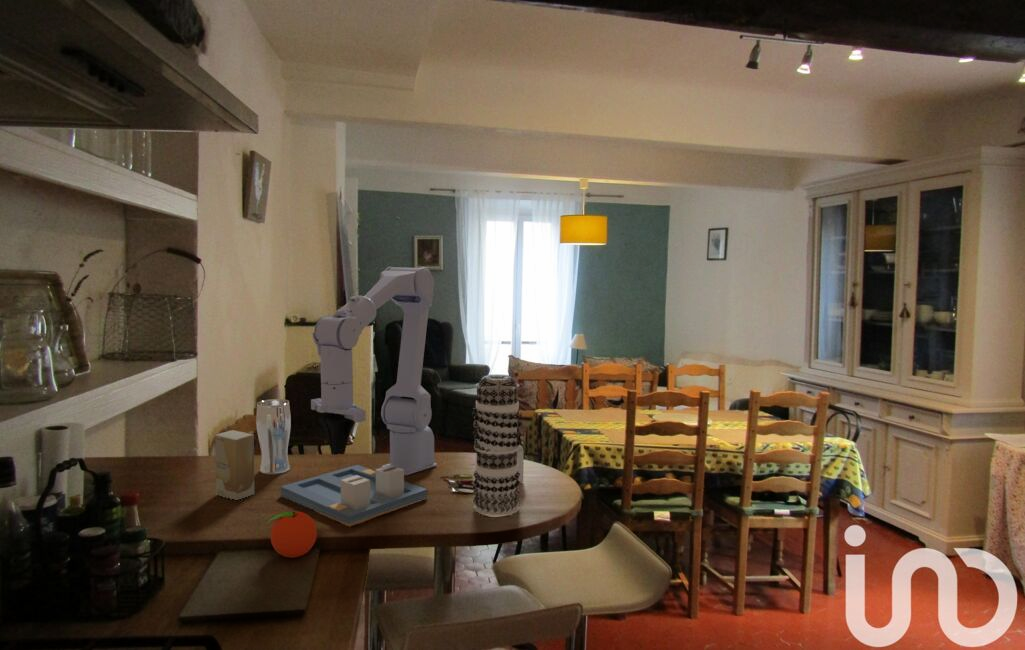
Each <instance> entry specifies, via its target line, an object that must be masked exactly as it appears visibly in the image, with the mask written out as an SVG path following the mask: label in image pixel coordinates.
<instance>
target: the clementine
mask: <svg viewBox="0 0 1025 650" xmlns="http://www.w3.org/2000/svg"><path fill="white" fill-rule="evenodd" d="M277 518H278V519H277ZM275 519H276V521H275V523H274V524H273V525H272V528H271V531H270V541H271V545H272V547H273V549H274V551H276V552H277V554H279V555H281V556H282V557H285V558H292V559H293V558H299V557H302V556H303V555H305V554H307V553H308V552H309V551H311V549H312V547H314V544H315V542H316V541H317V536H318V535H317V534H318V531H317V525H316V523H315V521H314V519H313V518H312V517H311V516H310V515H309V514H307V513H304V512H302V511H287V512H283V513H279V514H277V515H275V516H274V517H272V518H270V519H269V520H268V522H266V524H265V526H264V529H263V530H265V529H266V527H267V525H268V524H269V523H270V522H271V521H273V520H275Z"/></svg>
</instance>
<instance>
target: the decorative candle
mask: <svg viewBox="0 0 1025 650" xmlns="http://www.w3.org/2000/svg"><path fill="white" fill-rule="evenodd" d="M520 385H521V384H519V383H517V382H516V380H515V379H514V377H512V376H510V375H506V374H488V375H484V376H482V378H481V379H480V380H479V382H478V383H477V382H476V383H475V387H476V400H475V405H474V407H472V409H473V411H472V414H471V415H472V418H473V419H474V420H473V424H472V427H473V428H474V429H473V432H472V435H473V437H474V441H473V448H474V450H475V451H476V461H475V466H474V467H475V471H474V473H473V477H474V480H473V484H474V487H475V488H474V489H473V492H472V493H473V496H474V497H473V503H474V506H473V509H474V508H475V510H476V511H478V512H480V513H484V514H490V515H503V514H511V513H514V512H516V511H517V510H518V508H519V509H520V506H519V502H520V498H519V494H520V489H519V485H520V484H519V483H520V482H519V481H518V478H519V476H520V473H519V472H518V463H517V451H518V450H519V448H520V446H519V445H521V443H522V442H521V441H520V440H519V439H518V438H520V437H521V435H522V434H521V431H519V430H518V428H519V427H520V426H522V425H523V422H521V420H520V419H521V418H522V413H521V412H519V407H520V405H519V404H520V402H519V400H518V396H519V391H518V389H519V387H520ZM475 510H474V511H475ZM518 511H519V510H518Z"/></svg>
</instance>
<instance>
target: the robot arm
mask: <svg viewBox="0 0 1025 650" xmlns="http://www.w3.org/2000/svg"><path fill="white" fill-rule="evenodd" d="M434 289H435V279H434V276H433V274H432V273H431V271H430V269H429V268H428V267H395V266H388V267H386V268H385V269H384V270H383V271H381V272H380V276H379V280H378V281H377V282H376V283H375V284H374V285H373V286H372V288H371V289H370V290H369V291H367V292H366V294H365V295H352V296H351V297H349V300H348V301H347V302H346V303H345V305H343V306H342V307H341V308H338V309H337V310H336V311H335V313H333V314H332V315H331V316H325V317H322V318H321V319H320V320H318V321H317V322H316V324H315V326H314V330H313V332H312V339H313V342H314V344H315V345H316V347H317V355H318V357H320V384H321V385H320V388H321V389H320V393H321V395H320V398H319V397H318V398H312V399H310V409H311V410H312V411H316V412H318V413H321V414H324V413H325V414H324V415H321V416H319V417H318V422H319V424H320V425H321V426H322V428H323V430H324V433H325V435H326V438H327V441H328V444H329V449H330V452H331V454H333V455H336V456H337V455H341V454H344V453H346V448H347V446H348V445H347V444H348V440H349V436H350V434H351V431H352V429H353V428H354V425H355V423H361V422H366V419H367V418H366V416H367V414H366V411H367V410H365V409H362V408H360V407H359V406H357V404H355V403H354V381H353V379H354V376H353V374H354V373H353V372H354V371H353V370H354V369H353V365H354V364H353V348H354V347H356V346H357V344H358V342H359V339H360V336H361V334H362V332H363V330H364V329H365V328H366V327H367V326H368V325H369V324H370V323H372V322H373V321H374V320H375V319H376V317H377V309H379V308H380V307H382V306H383V305H384V304H385V303H387V302H388V301H390V300H391V301H392V302H394V304H395V305H397V306H399V307H400V308H401V309H402V311H403V321H402V330H401V339H400V347H399V357H398V367H397V374H396V375H397V376H396V383H395V384H394V385H392V386H391V387H390V388H388V390H386V391H385V398H384V401H383V404H382V405H381V408H380V409H381V411H380V416H381V420H382V421H383V424H385V425H386V429H387V430H389V463H386V464H384V465H382V466H381V468H382V467H385V466H389V465H392V466H395V467H398V468H401V469H404V477H405V476H409V475H411V474H412V475H413V474H414V473H415V474H416V473H418V472H422V471H425V470H428V469H431V468H434V467H437V465H438V464H437V463H436V462H435V436H434V433H433V430H432V429H431V427H429V424H430V422H431V420H432V415H433V414H432V408H431V405H432V404H431V400H432V399H431V397H432V395H431V394H430V393H429V392H428V391H427V390H426V389H425V388H424V387H423V386H422V385H421V384H422V374H423V366H424V365H423V363H424V357H425V356H424V354H425V349H426V348H425V345H426V336H427V327H428V320H429V309H430V308H431V307H432V306H433V298H434V292H435V291H434ZM403 397H405V398H403ZM410 398H412V399H410Z"/></svg>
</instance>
